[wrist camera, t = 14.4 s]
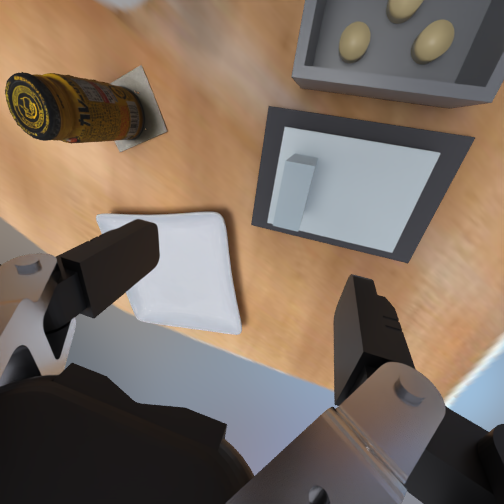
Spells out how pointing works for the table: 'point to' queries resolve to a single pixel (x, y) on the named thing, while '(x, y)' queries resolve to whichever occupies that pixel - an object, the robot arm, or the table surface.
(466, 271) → the table surface
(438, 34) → the tub
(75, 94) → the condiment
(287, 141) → the lid
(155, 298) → the salad plate
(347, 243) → the mat
